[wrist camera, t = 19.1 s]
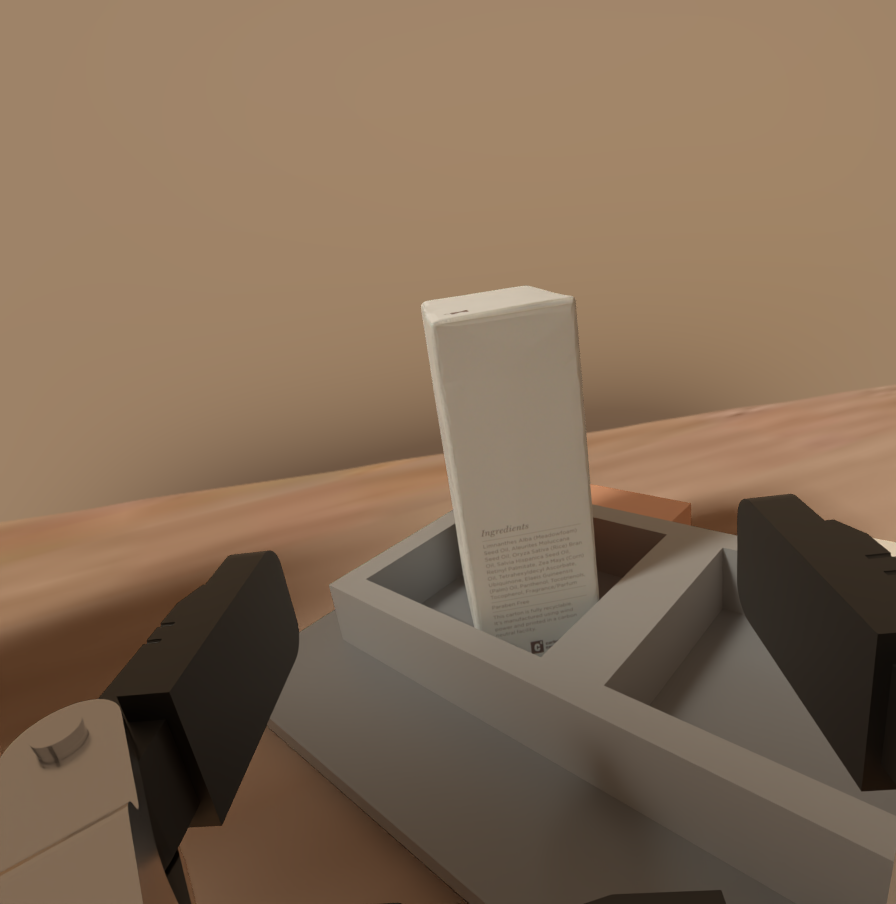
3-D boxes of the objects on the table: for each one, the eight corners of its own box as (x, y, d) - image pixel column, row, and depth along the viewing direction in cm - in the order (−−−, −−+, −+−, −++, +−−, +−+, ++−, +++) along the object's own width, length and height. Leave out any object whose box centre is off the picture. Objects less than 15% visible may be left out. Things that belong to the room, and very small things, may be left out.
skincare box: (608, 656, 20) (580, 294, 16) (484, 680, 20) (424, 321, 16) (560, 565, 26) (530, 281, 22) (463, 583, 26) (415, 301, 22)
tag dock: (229, 692, 22) (205, 623, 21) (520, 500, 34) (514, 449, 33) (1365, 1693, 6) (1505, 1603, 5) (1178, 654, 17) (1207, 561, 16)
